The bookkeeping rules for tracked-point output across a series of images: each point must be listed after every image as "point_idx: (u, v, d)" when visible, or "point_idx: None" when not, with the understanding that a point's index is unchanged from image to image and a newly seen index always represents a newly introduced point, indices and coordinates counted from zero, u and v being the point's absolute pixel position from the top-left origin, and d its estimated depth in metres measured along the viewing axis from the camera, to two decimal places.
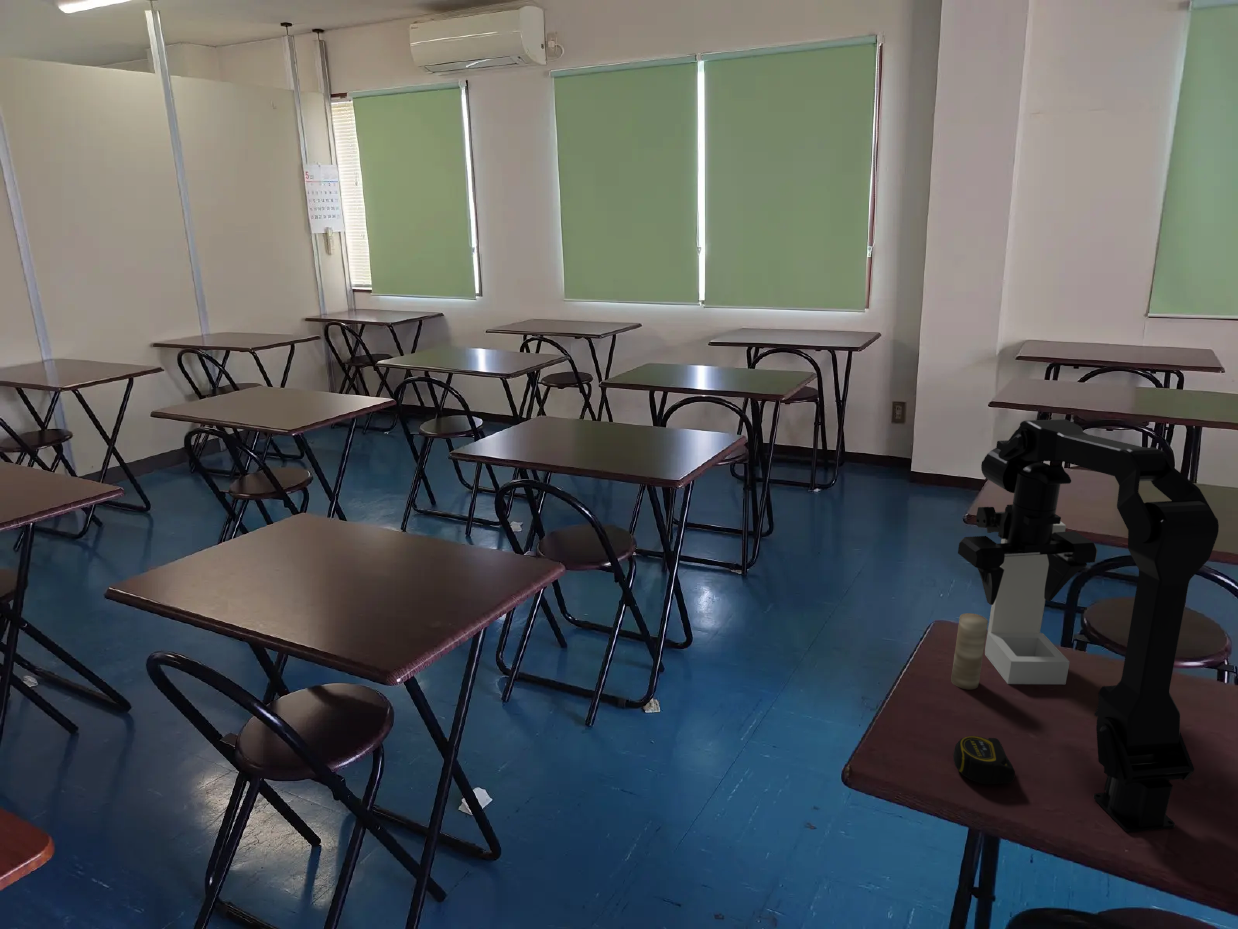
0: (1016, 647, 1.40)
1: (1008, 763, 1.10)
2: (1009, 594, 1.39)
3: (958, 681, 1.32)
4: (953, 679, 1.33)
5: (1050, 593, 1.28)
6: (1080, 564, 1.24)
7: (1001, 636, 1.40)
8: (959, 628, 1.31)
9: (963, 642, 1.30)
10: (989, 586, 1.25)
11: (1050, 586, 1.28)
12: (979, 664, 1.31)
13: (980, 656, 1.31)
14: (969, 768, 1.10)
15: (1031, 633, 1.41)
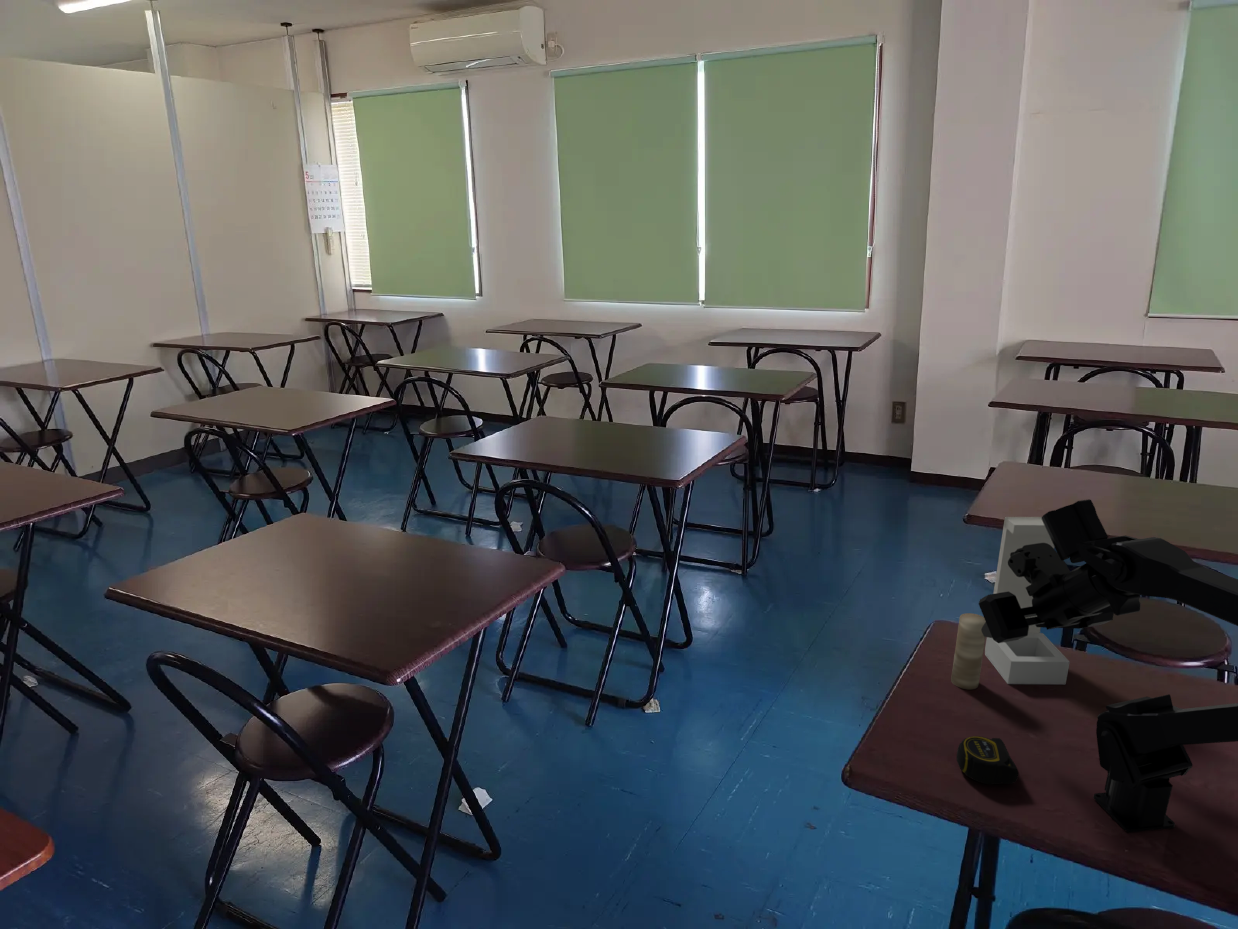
0: (1016, 647, 1.40)
1: (1011, 763, 1.10)
2: None
3: (958, 681, 1.32)
4: (953, 679, 1.33)
5: (1043, 625, 1.23)
6: None
7: None
8: (959, 628, 1.31)
9: (963, 642, 1.30)
10: None
11: None
12: (979, 664, 1.31)
13: (980, 656, 1.31)
14: (973, 768, 1.10)
15: (1031, 633, 1.41)
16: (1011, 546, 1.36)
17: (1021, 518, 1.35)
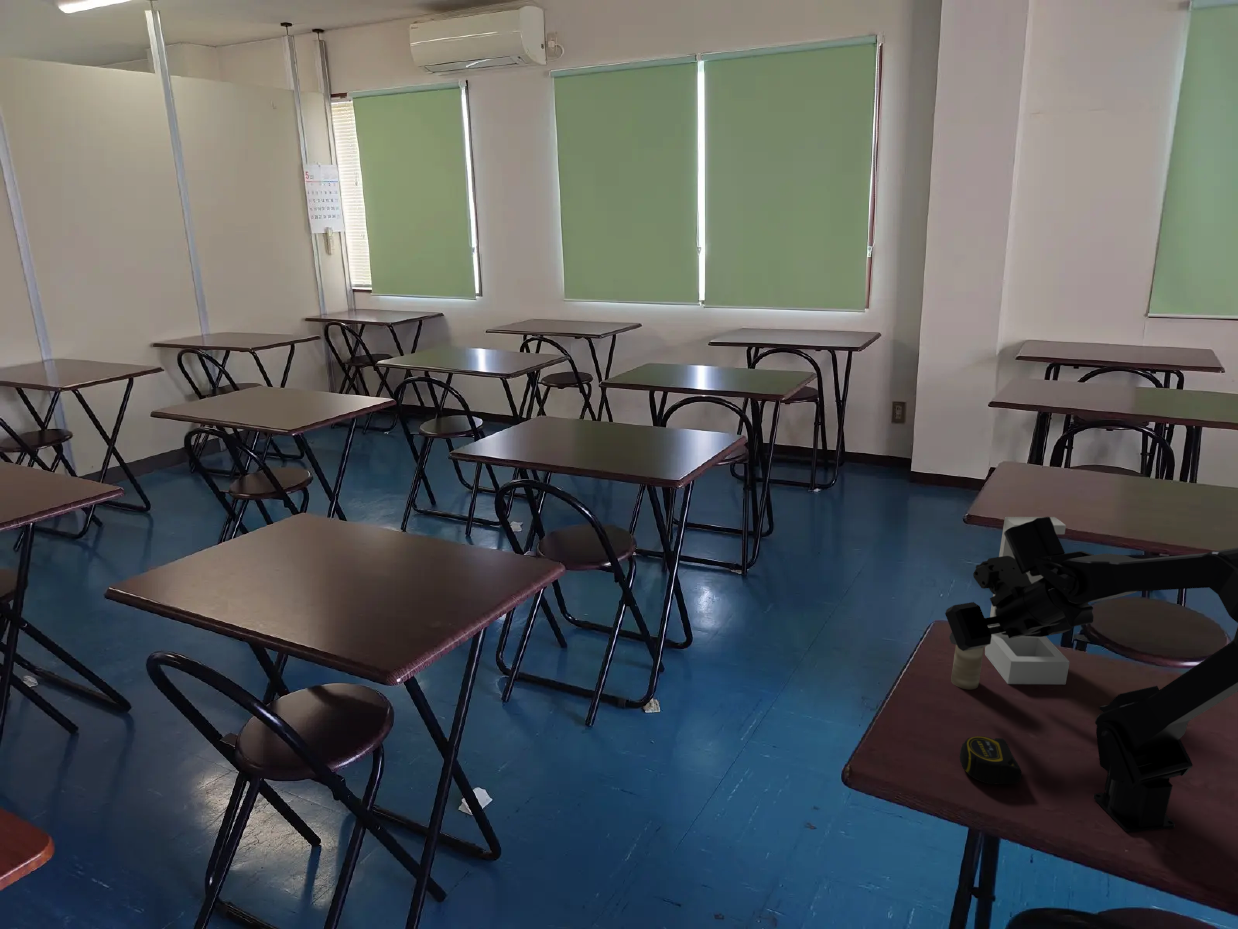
0: (1016, 647, 1.40)
1: (1015, 763, 1.10)
2: None
3: (958, 681, 1.32)
4: (953, 679, 1.33)
5: None
6: None
7: (1001, 636, 1.40)
8: None
9: None
10: None
11: None
12: (979, 664, 1.31)
13: (980, 656, 1.31)
14: (976, 768, 1.10)
15: None
16: None
17: (1021, 518, 1.35)
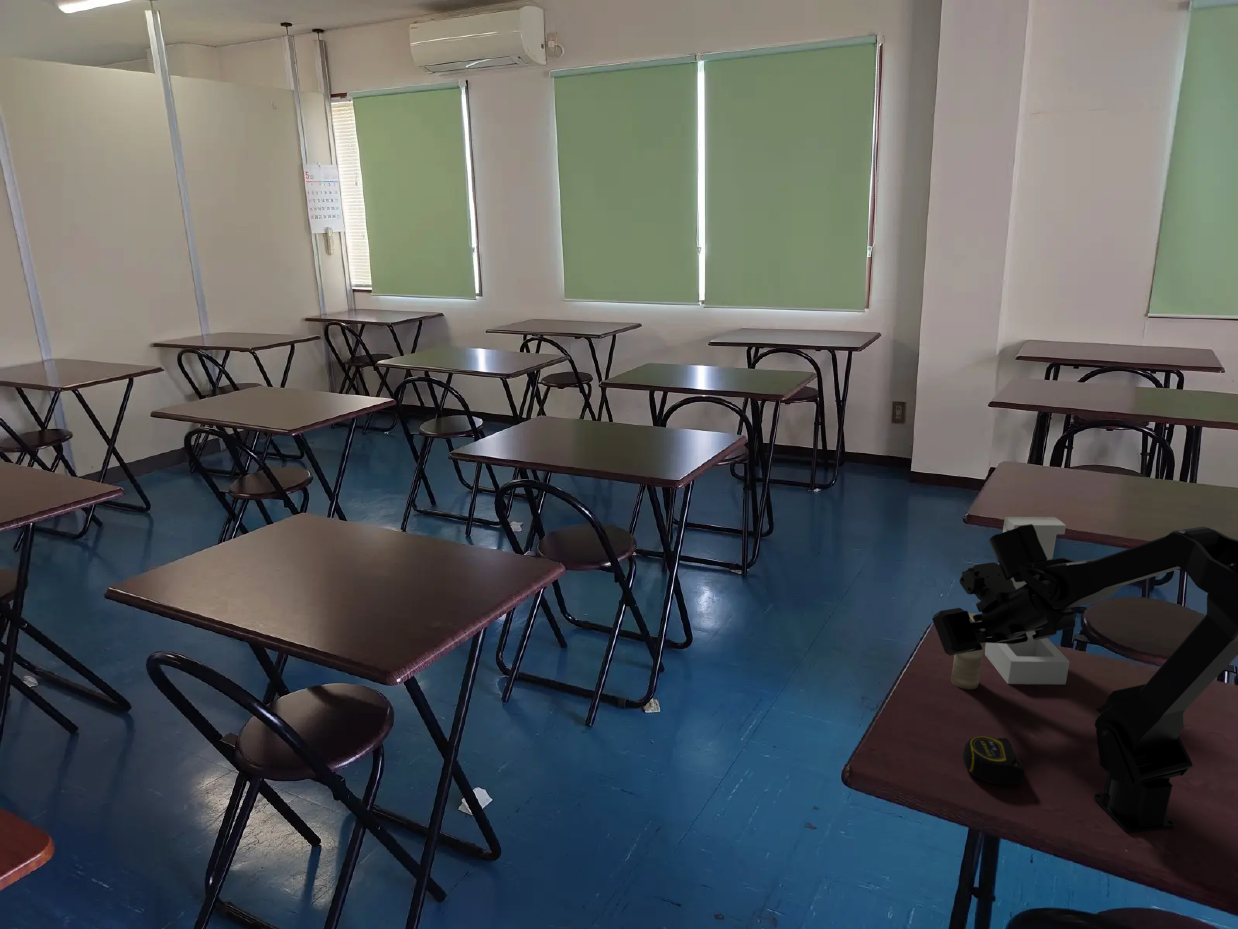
0: (1016, 647, 1.40)
1: (1018, 763, 1.10)
2: None
3: (958, 681, 1.32)
4: (953, 679, 1.33)
5: None
6: (1022, 640, 1.27)
7: None
8: None
9: None
10: None
11: None
12: (979, 664, 1.31)
13: (980, 656, 1.31)
14: (979, 768, 1.10)
15: (1031, 633, 1.41)
16: None
17: (1021, 518, 1.35)
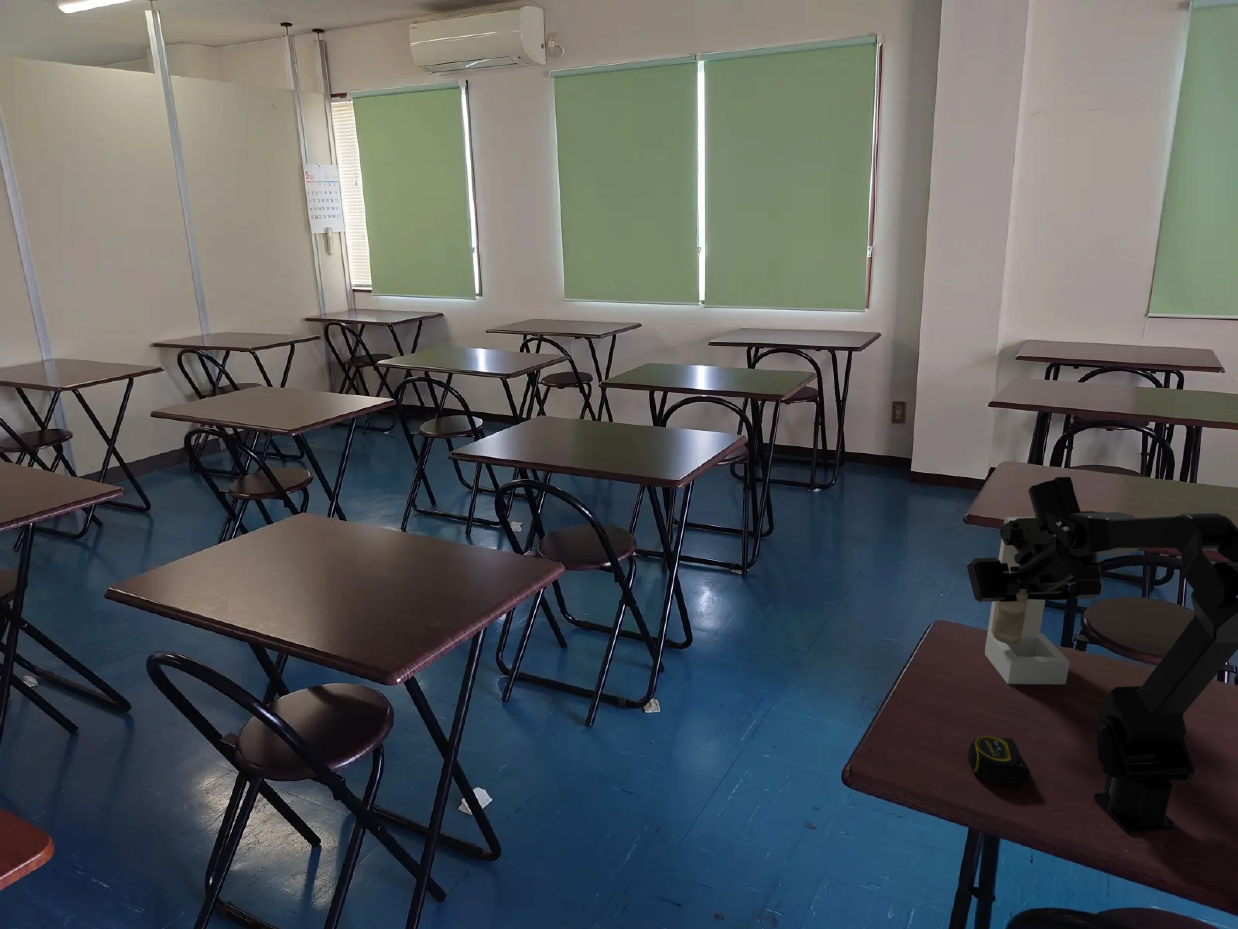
0: (1016, 647, 1.40)
1: (1023, 763, 1.10)
2: None
3: (998, 635, 1.34)
4: (994, 633, 1.35)
5: None
6: (1063, 597, 1.27)
7: None
8: None
9: None
10: None
11: None
12: (1020, 619, 1.32)
13: (1021, 611, 1.32)
14: (984, 768, 1.10)
15: (1031, 633, 1.41)
16: (1011, 546, 1.36)
17: None
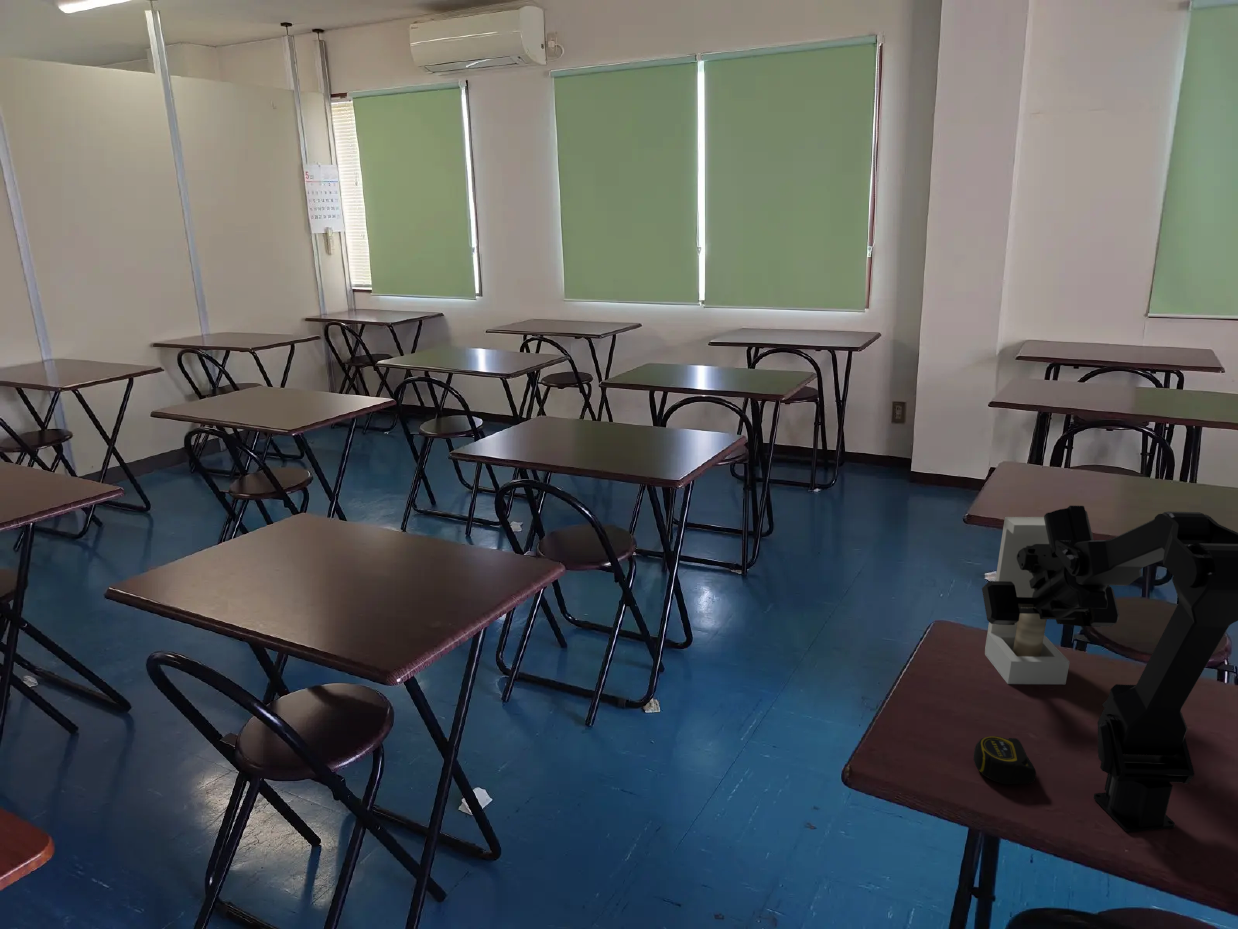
0: None
1: (1029, 763, 1.10)
2: None
3: None
4: None
5: (1060, 622, 1.35)
6: None
7: (1001, 636, 1.40)
8: None
9: (1020, 628, 1.35)
10: None
11: None
12: (1036, 652, 1.35)
13: (1037, 644, 1.34)
14: (990, 768, 1.10)
15: None
16: (1011, 546, 1.36)
17: (1021, 518, 1.35)
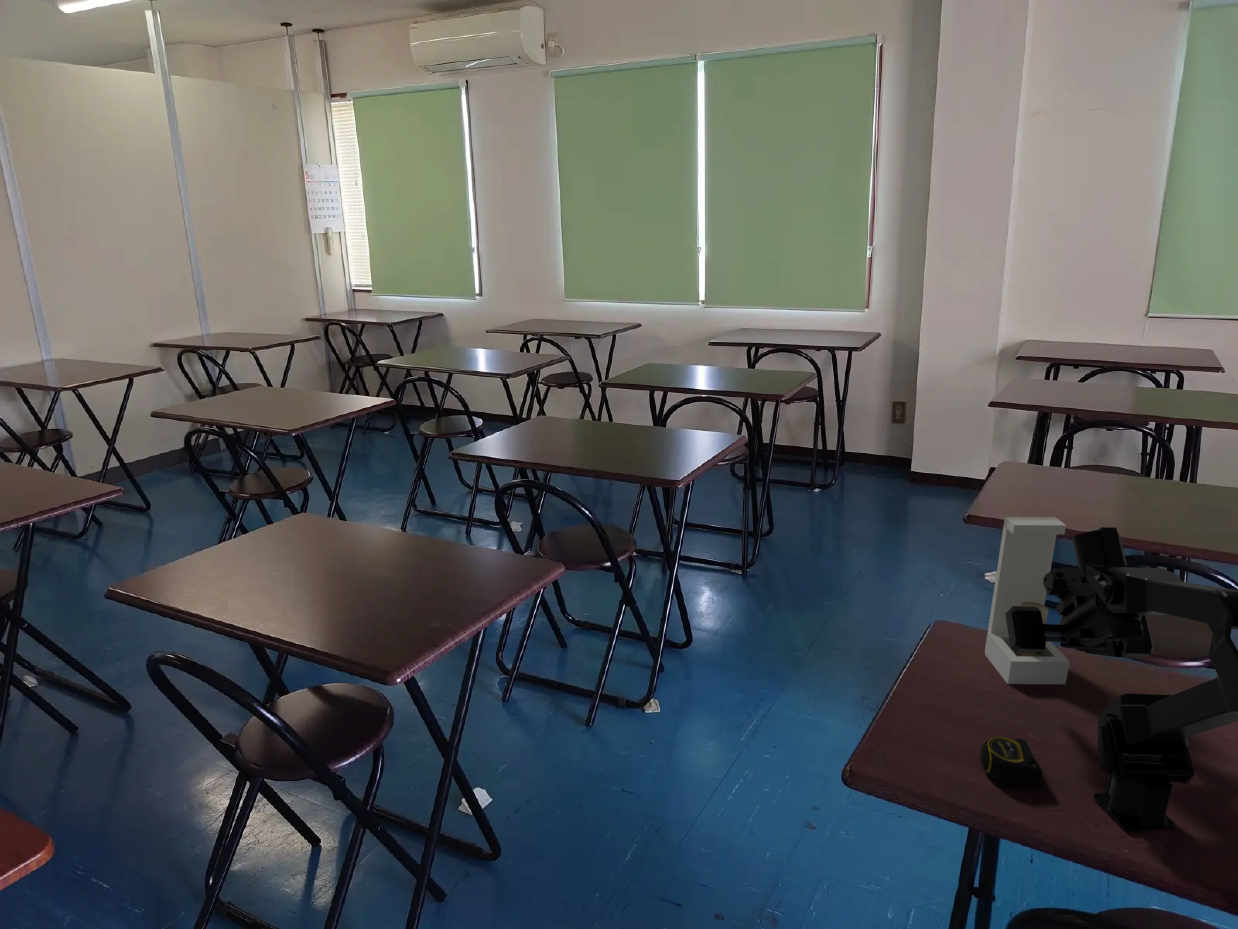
0: None
1: (1036, 764, 1.10)
2: (1009, 594, 1.39)
3: None
4: None
5: (1089, 651, 1.26)
6: None
7: (1001, 636, 1.40)
8: None
9: None
10: None
11: None
12: None
13: None
14: (997, 769, 1.10)
15: None
16: (1011, 546, 1.36)
17: (1021, 518, 1.35)
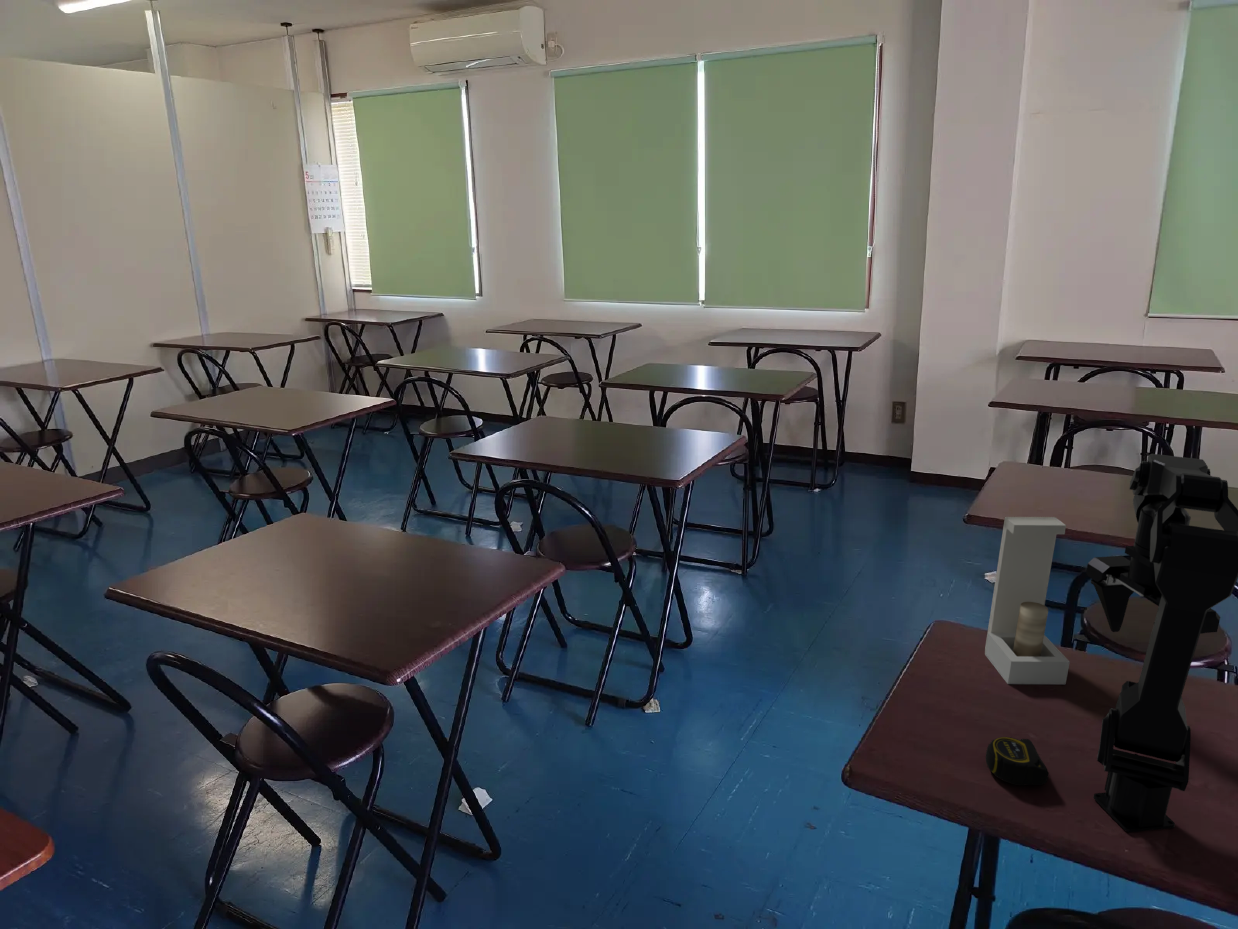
0: None
1: (1042, 764, 1.10)
2: (1009, 594, 1.39)
3: None
4: None
5: None
6: None
7: (1001, 636, 1.40)
8: (1019, 614, 1.35)
9: (1020, 628, 1.35)
10: None
11: None
12: (1036, 652, 1.35)
13: (1037, 644, 1.34)
14: (1003, 769, 1.10)
15: None
16: (1011, 546, 1.36)
17: (1021, 518, 1.35)
